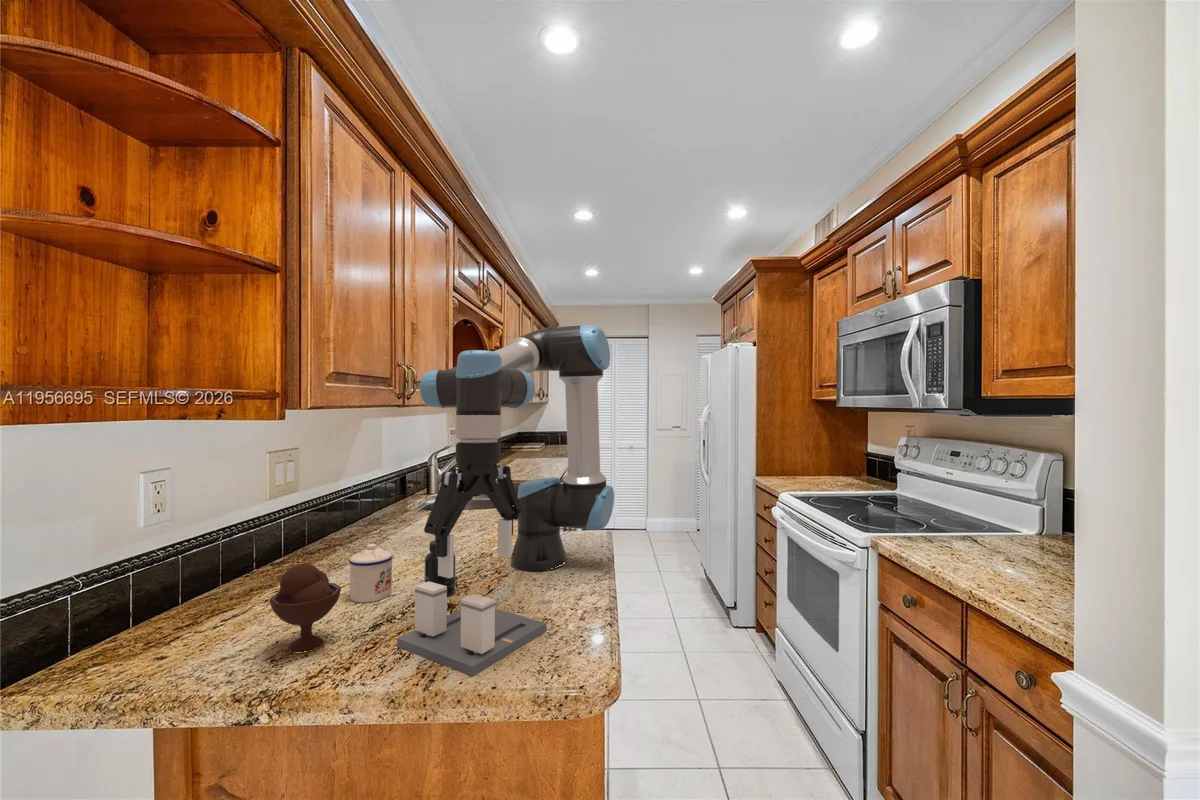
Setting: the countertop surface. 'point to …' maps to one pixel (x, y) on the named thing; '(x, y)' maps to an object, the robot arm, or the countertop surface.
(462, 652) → the fader panel
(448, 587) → the supplement bottle
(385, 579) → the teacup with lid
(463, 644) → the block
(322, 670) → the countertop surface
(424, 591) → the block
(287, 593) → the ice cream bowl
